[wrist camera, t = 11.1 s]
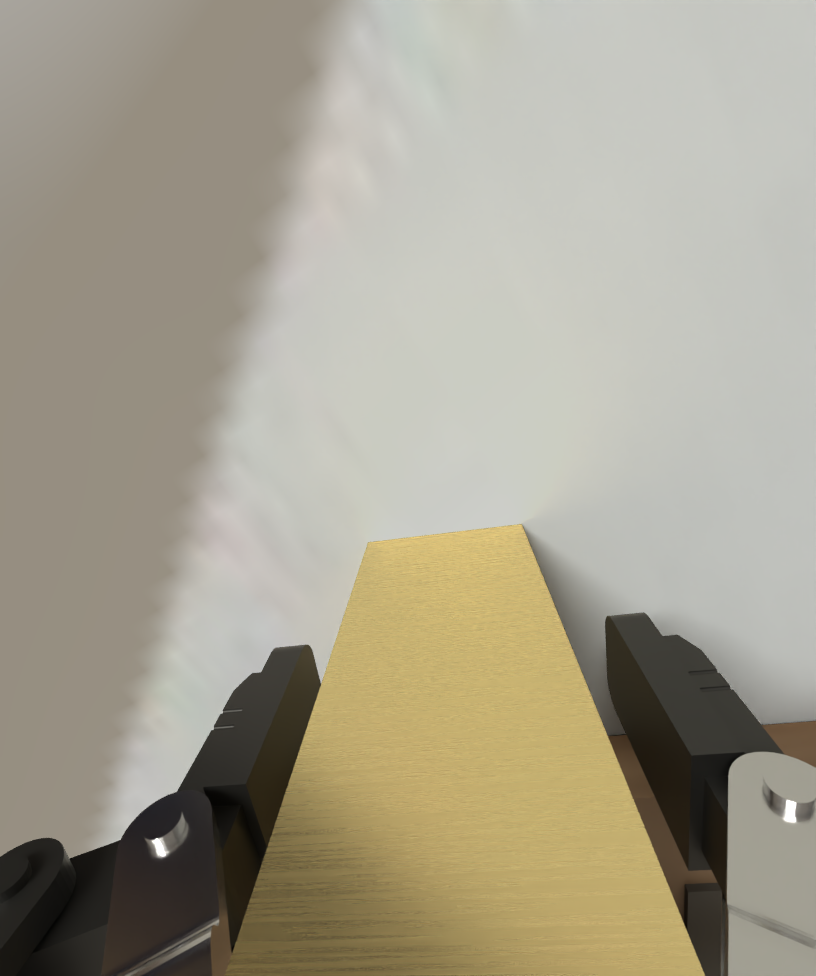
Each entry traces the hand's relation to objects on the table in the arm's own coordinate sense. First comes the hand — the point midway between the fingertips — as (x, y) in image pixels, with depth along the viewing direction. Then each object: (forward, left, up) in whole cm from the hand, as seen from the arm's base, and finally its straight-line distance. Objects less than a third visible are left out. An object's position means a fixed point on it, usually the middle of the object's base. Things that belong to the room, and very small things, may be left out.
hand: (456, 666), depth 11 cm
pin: (0, 0, -3) cm, 3 cm away
